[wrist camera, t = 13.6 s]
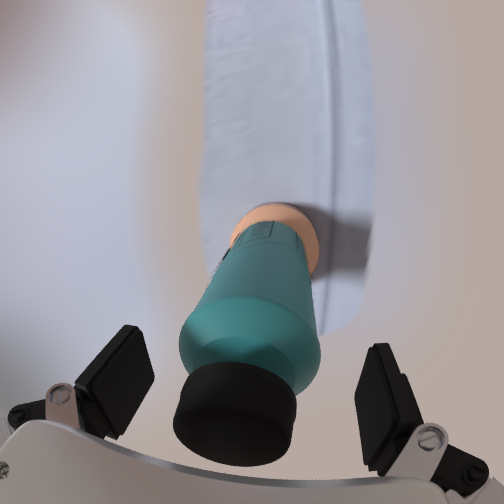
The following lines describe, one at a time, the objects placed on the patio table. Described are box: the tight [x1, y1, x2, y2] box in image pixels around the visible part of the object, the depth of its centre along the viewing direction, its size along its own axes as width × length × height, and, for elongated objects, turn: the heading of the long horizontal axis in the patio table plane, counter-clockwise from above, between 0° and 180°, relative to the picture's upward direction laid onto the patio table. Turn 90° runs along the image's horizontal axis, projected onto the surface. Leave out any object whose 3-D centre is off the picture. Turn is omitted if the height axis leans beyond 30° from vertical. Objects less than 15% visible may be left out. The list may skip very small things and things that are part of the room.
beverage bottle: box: [173, 219, 321, 467], centre depth 16 cm, size 6×7×20 cm
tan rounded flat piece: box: [230, 202, 319, 275], centre depth 27 cm, size 8×8×3 cm
